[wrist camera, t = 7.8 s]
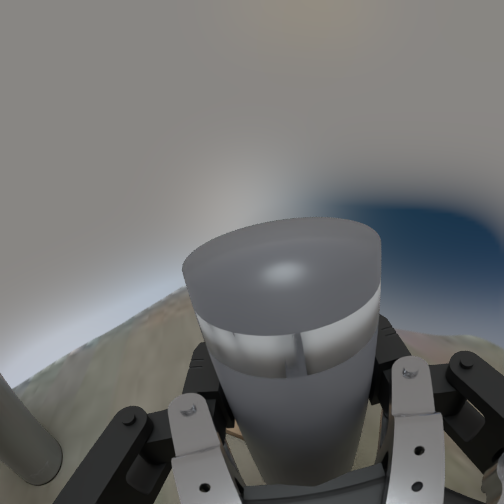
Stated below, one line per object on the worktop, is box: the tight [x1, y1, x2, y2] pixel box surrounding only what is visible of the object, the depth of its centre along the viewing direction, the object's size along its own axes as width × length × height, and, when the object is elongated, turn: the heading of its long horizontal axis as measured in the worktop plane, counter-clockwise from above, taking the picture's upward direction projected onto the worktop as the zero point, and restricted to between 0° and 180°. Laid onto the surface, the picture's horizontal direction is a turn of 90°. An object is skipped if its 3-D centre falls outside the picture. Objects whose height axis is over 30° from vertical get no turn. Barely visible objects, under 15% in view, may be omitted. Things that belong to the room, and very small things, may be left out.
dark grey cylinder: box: [182, 217, 381, 487], centre depth 9 cm, size 5×5×12 cm
